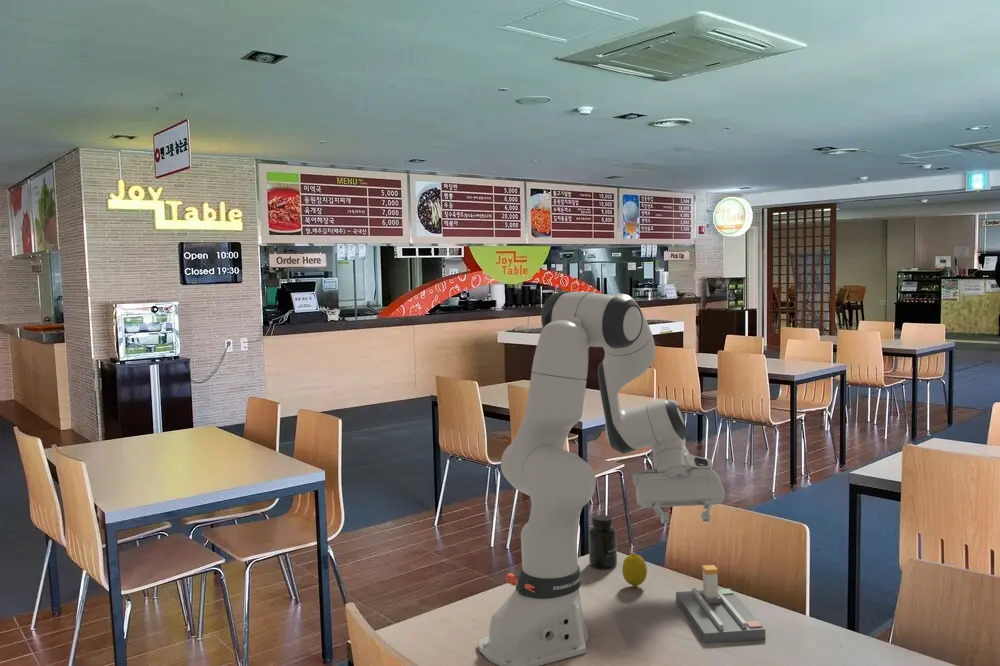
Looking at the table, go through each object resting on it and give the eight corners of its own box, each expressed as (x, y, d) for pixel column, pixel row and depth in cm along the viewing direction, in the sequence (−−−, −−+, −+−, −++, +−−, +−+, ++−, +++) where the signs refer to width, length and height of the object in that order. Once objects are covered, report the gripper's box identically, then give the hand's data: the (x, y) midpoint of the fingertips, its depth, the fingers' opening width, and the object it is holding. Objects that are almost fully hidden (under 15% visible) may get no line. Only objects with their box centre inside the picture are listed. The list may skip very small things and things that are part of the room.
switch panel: (676, 600, 173) (675, 587, 172) (729, 597, 173) (729, 584, 173) (704, 643, 153) (704, 628, 153) (765, 639, 153) (765, 624, 153)
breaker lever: (700, 596, 169) (700, 564, 169) (714, 595, 169) (713, 563, 169) (706, 603, 165) (705, 571, 165) (720, 602, 166) (720, 570, 165)
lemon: (650, 584, 182) (649, 551, 182) (641, 593, 177) (640, 558, 177) (628, 580, 185) (627, 547, 184) (619, 589, 180) (617, 555, 180)
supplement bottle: (616, 570, 192) (614, 522, 191) (588, 569, 193) (586, 521, 192) (618, 560, 198) (616, 513, 198) (590, 559, 200) (589, 513, 199)
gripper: (632, 463, 185) (643, 516, 176) (718, 459, 186) (733, 512, 177) (628, 477, 190) (638, 530, 181) (712, 473, 191) (726, 525, 182)
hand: (686, 521), depth 179 cm, fingers open, 8 cm apart
